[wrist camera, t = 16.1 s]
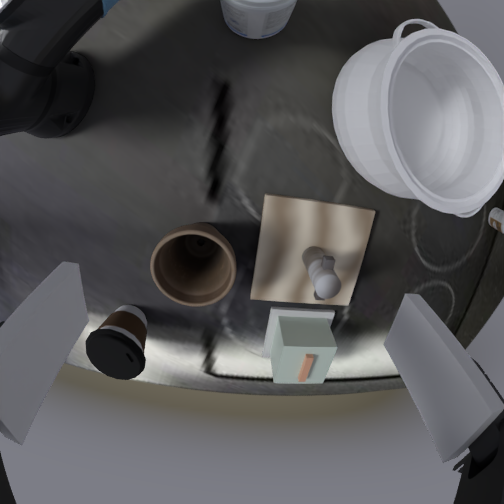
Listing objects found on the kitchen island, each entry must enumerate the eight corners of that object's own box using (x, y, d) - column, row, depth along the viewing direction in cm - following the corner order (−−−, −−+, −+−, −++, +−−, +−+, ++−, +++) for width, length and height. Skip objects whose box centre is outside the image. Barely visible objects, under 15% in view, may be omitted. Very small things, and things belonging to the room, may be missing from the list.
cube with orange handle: (278, 315, 52) (284, 350, 44) (326, 318, 53) (339, 351, 45) (270, 352, 56) (274, 387, 48) (314, 353, 57) (323, 387, 48)
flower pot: (198, 285, 50) (191, 321, 41) (152, 238, 46) (133, 266, 37) (251, 246, 48) (254, 277, 38) (205, 192, 44) (195, 211, 34)
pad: (261, 354, 57) (262, 357, 56) (271, 306, 52) (271, 308, 52) (318, 356, 58) (319, 358, 58) (333, 310, 53) (335, 312, 53)
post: (250, 295, 51) (253, 336, 41) (265, 193, 44) (272, 214, 34) (346, 301, 53) (366, 339, 43) (372, 209, 46) (404, 232, 36)
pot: (463, 164, 42) (527, 187, 27) (359, 215, 46) (409, 259, 31) (417, 32, 33) (480, 12, 17) (294, 67, 36) (326, 35, 21)
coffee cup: (143, 288, 50) (122, 329, 39) (167, 334, 54) (155, 379, 43) (97, 299, 51) (71, 338, 40) (122, 342, 55) (105, 383, 44)
